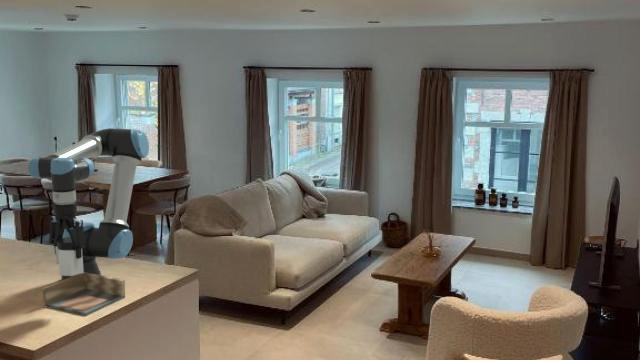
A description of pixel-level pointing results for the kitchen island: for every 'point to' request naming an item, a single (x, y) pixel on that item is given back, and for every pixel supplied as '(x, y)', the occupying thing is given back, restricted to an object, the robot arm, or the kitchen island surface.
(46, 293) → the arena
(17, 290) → the kitchen island surface
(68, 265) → the jar
